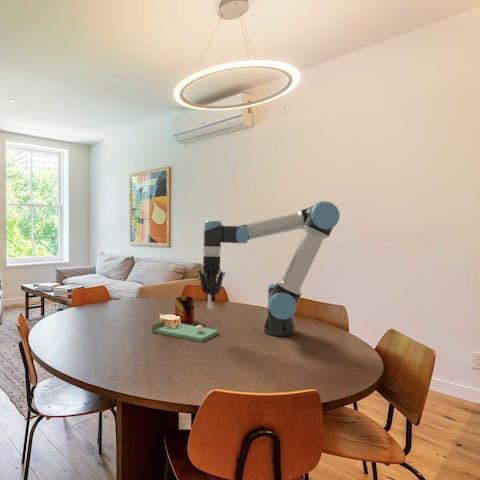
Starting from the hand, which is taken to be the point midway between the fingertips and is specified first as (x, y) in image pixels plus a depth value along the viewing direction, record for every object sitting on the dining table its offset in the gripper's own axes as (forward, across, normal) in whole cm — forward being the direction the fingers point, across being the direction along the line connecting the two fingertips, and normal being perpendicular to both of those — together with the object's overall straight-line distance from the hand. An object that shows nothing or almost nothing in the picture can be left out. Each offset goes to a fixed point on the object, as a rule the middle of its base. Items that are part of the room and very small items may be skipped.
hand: (210, 308), depth 152 cm
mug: (+14, +24, -16) cm, 32 cm away
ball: (+10, +6, 0) cm, 12 cm away
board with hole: (+13, +14, 0) cm, 19 cm away
